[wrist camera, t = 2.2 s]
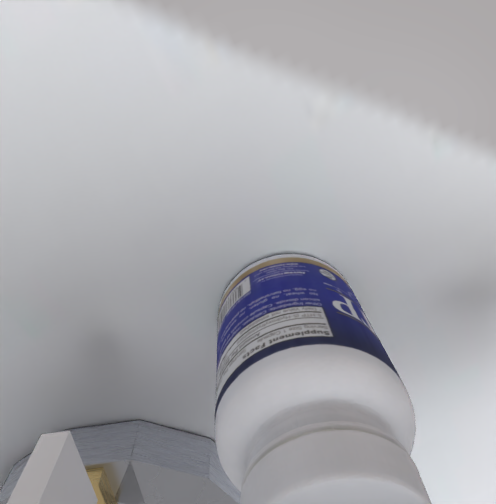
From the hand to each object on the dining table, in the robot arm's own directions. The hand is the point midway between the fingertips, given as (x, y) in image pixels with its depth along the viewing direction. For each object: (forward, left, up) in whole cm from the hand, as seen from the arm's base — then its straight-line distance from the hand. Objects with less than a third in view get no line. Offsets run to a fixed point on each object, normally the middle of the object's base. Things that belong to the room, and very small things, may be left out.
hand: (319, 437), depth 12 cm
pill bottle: (0, 0, -6) cm, 6 cm away
